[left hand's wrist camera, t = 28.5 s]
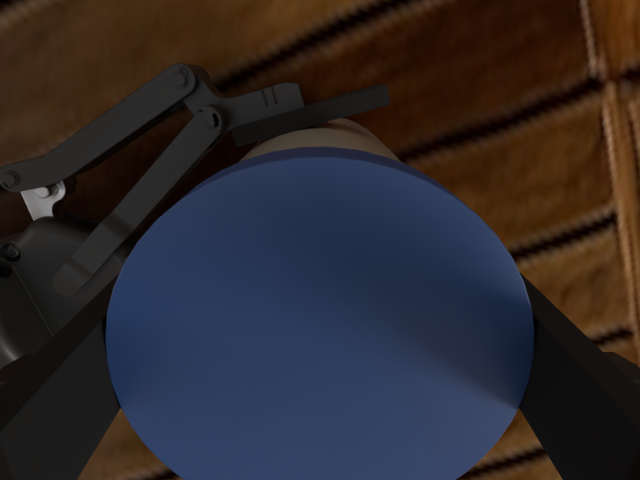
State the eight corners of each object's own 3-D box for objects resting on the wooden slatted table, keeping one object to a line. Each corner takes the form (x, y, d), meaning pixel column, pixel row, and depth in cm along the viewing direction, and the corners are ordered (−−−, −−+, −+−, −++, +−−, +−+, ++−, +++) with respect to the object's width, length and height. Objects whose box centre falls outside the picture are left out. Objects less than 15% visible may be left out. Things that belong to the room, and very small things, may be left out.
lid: (73, 381, 13) (40, 420, 11) (249, 54, 10) (236, 49, 8) (366, 519, 15) (371, 568, 13) (590, 284, 12) (629, 314, 10)
